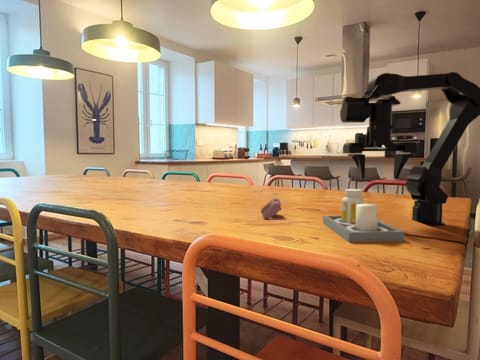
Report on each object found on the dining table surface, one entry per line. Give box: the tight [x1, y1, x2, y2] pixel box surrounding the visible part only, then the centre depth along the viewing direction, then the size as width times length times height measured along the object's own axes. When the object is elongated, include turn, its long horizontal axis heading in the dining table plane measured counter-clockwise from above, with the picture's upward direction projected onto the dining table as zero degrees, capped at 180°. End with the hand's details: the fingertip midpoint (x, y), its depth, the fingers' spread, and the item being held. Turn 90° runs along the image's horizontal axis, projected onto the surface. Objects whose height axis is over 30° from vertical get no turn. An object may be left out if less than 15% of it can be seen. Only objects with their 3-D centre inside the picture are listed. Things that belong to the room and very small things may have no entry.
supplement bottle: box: [341, 188, 365, 224], centre depth 87 cm, size 5×5×10 cm
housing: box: [322, 215, 405, 243], centre depth 83 cm, size 12×20×3 cm, turn 2°
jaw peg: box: [356, 203, 379, 231], centre depth 79 cm, size 5×5×7 cm
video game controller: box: [260, 197, 282, 220], centre depth 109 cm, size 10×5×7 cm, turn 1°
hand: (378, 179), depth 95 cm, fingers open, 9 cm apart
